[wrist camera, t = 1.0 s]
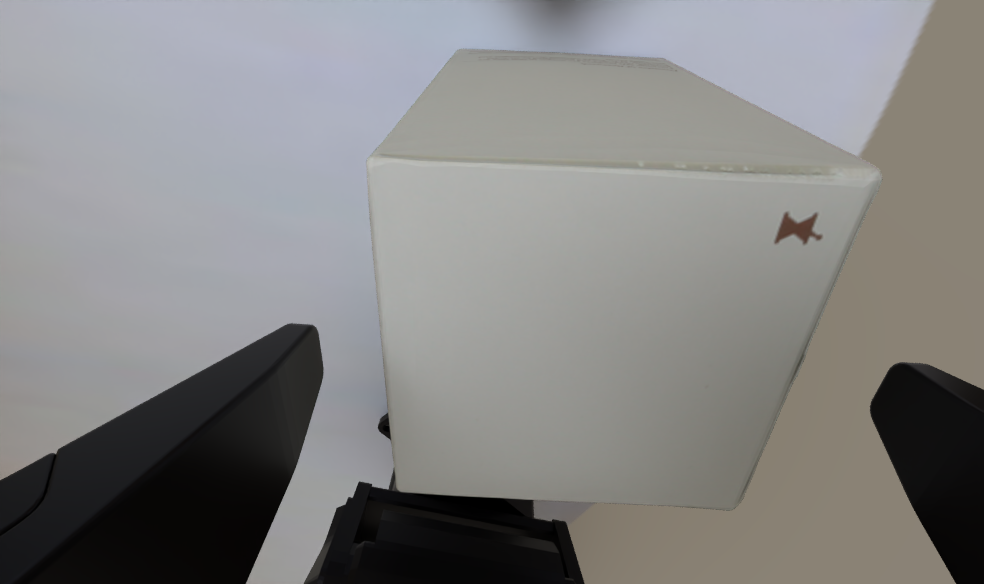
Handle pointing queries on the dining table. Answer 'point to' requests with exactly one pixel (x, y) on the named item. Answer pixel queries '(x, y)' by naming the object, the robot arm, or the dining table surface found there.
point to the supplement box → (598, 278)
